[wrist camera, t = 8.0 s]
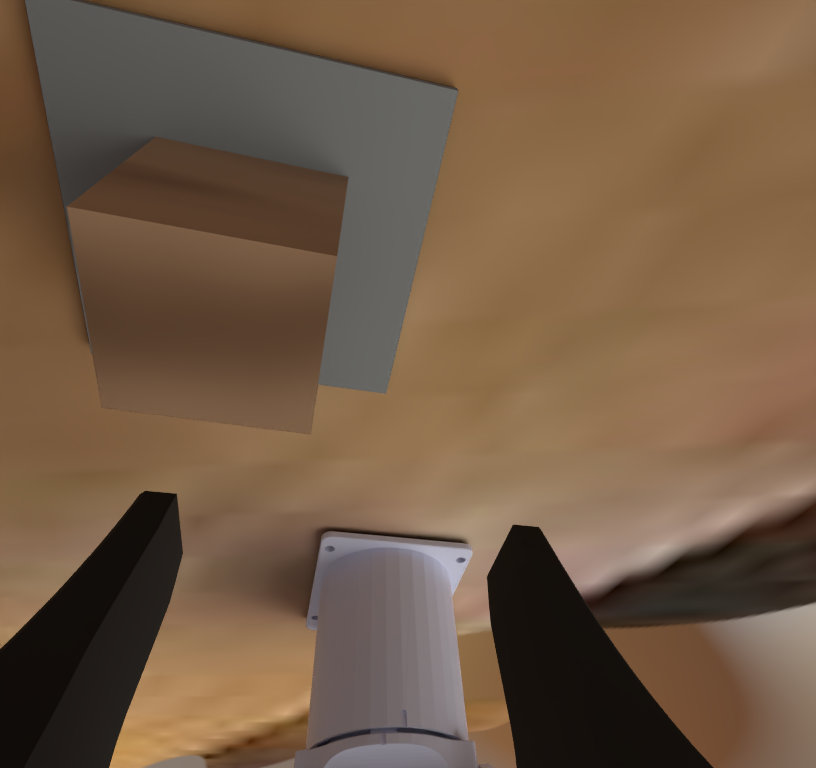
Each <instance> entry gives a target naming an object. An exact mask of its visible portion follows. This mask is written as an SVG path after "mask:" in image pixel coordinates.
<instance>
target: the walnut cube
mask: <svg viewBox="0 0 816 768" xmlns="http://www.w3.org/2000/svg"><path fill="white" fill-rule="evenodd" d="M348 178H349V177H346V176H341V175H336V174H331V173H327V172H322V171H317V170H312V169H308V168H303V167H298V166H293V165H289V164H284V163H279V162H274V161H269V160H265V159H260V158H255V157H250V156H246V155H241V154H236V153H231V152H227V151H222V150H217V149H212V148H208V147H203V146H198V145H193V144H188V143H184V142H179V141H174V140H169V139H165V138H160V137H155V138H154V139H152V140H151V141H150V142H149V143H147V144H146V145H145V146H143V147H142V148H141V149H140V150H138V151H137V152H136V153H134V154H133V155H132V156H131V157H129V158H128V159H127V160H126V161H124V162H123V163H122V164H120V165H119V166H118V167H117V168H115V169H114V170H113V171H111V172H110V173H109V174H108V175H106V176H105V177H104V178H103V179H101V180H100V181H99V182H97V183H96V184H95V185H94V186H92V187H91V188H90V189H89V190H87V191H86V192H85V193H83V194H82V195H81V196H80V197H78V198H77V199H76V200H74V201H73V202H72V203H71V204H69V205H68V206H67V211H68V216H69V222H70V228H71V234H72V239H73V245H74V251H75V257H76V262H77V268H78V274H79V280H80V285H81V291H82V297H83V302H84V308H85V314H86V320H87V325H88V331H89V337H90V343H91V348H92V354H93V360H94V366H95V371H96V377H97V383H98V388H99V394H100V400H101V406H102V408H107V409H115V410H122V411H130V412H138V413H146V414H154V415H162V416H170V417H177V418H185V419H193V420H201V421H209V422H217V423H224V424H232V425H240V426H248V427H256V428H264V429H272V430H279V431H287V432H295V433H303V434H311V429H312V422H313V415H314V408H315V402H316V395H317V388H318V382H319V375H320V368H321V361H322V355H323V348H324V341H325V334H326V328H327V321H328V314H329V308H330V301H331V294H332V287H333V281H334V274H335V267H336V261H337V254H338V247H339V240H340V233H341V226H342V219H343V212H344V205H345V198H346V191H347V185H348Z"/></svg>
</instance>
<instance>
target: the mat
mask: <svg viewBox="0 0 816 768" xmlns="http://www.w3.org/2000/svg"><path fill="white" fill-rule="evenodd" d="M25 4H26V9H27V14H28V20H29V25H30V30H31V36H32V41H33V46H34V51H35V57H36V62H37V67H38V73H39V78H40V83H41V89H42V94H43V99H44V104H45V110H46V115H47V120H48V126H49V131H50V136H51V142H52V147H53V152H54V158H55V163H56V168H57V173H58V179H59V184H60V189H61V195H62V200H63V205H64V211H65V216H66V221H67V227H68V232H69V237H70V242H71V248H72V253H73V258H74V264H75V269H76V274H77V280H78V285H79V290H80V295H81V301H82V306H83V311H84V317H85V322H86V327H87V333H88V338H89V343H90V337H89V331H88V325H87V320H86V314H85V308H84V302H83V297H82V291H81V285H80V280H79V274H78V268H77V262H76V257H75V251H74V245H73V239H72V234H71V228H70V222H69V216H68V211H67V206H68V205H69V204H71V203H72V202H73V201H74V200H76V199H77V198H78V197H80V196H81V195H82V194H83V193H85V192H86V191H87V190H89V189H90V188H91V187H92V186H94V185H95V184H96V183H97V182H99V181H100V180H101V179H103V178H104V177H105V176H106V175H108V174H109V173H110V172H111V171H113V170H114V169H115V168H117V167H118V166H119V165H120V164H122V163H123V162H124V161H126V160H127V159H128V158H129V157H131V156H132V155H133V154H134V153H136V152H137V151H138V150H140V149H141V148H142V147H143V146H145V145H146V144H147V143H149V142H150V141H151V140H152V139H154V138H155V137H160V138H165V139H169V140H174V141H179V142H184V143H188V144H193V145H198V146H203V147H208V148H212V149H217V150H222V151H227V152H231V153H236V154H241V155H246V156H250V157H255V158H260V159H265V160H269V161H274V162H279V163H284V164H289V165H293V166H298V167H303V168H308V169H312V170H317V171H322V172H327V173H331V174H336V175H341V176H346V177H349V178H348V185H347V191H346V198H345V205H344V212H343V219H342V226H341V233H340V240H339V247H338V254H337V261H336V267H335V274H334V281H333V287H332V294H331V301H330V308H329V314H328V321H327V328H326V334H325V341H324V348H323V355H322V361H321V368H320V375H319V382H318V384H319V385H326V386H334V387H341V388H348V389H356V390H363V391H371V392H378V393H385V394H386V391H387V387H388V383H389V379H390V375H391V370H392V366H393V362H394V358H395V354H396V350H397V345H398V341H399V337H400V333H401V329H402V324H403V320H404V316H405V312H406V308H407V303H408V299H409V295H410V291H411V287H412V282H413V278H414V274H415V270H416V266H417V262H418V257H419V253H420V249H421V245H422V241H423V236H424V232H425V228H426V224H427V220H428V215H429V211H430V207H431V203H432V199H433V194H434V190H435V186H436V182H437V178H438V174H439V169H440V165H441V161H442V157H443V153H444V148H445V144H446V140H447V136H448V132H449V127H450V123H451V119H452V115H453V111H454V106H455V102H456V98H457V94H458V90H457V88H454V87H450V86H446V85H441V84H437V83H433V82H429V81H424V80H420V79H416V78H412V77H407V76H403V75H399V74H394V73H390V72H386V71H382V70H377V69H373V68H369V67H365V66H360V65H356V64H352V63H348V62H343V61H339V60H335V59H330V58H326V57H322V56H318V55H313V54H309V53H305V52H301V51H296V50H292V49H288V48H284V47H279V46H275V45H271V44H266V43H262V42H258V41H254V40H249V39H245V38H241V37H237V36H232V35H228V34H224V33H220V32H215V31H211V30H207V29H202V28H198V27H194V26H190V25H185V24H181V23H177V22H173V21H168V20H164V19H160V18H156V17H151V16H147V15H143V14H138V13H134V12H130V11H126V10H121V9H117V8H113V7H109V6H104V5H100V4H96V3H92V2H87V1H83V0H25ZM90 349H91V354H92V348H91V343H90Z"/></svg>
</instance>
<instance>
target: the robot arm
mask: <svg viewBox="0 0 816 768" xmlns="http://www.w3.org/2000/svg"><path fill="white" fill-rule="evenodd" d="M472 553H473V552H472V547H471V546H470V545H469V544H465V543H455V542H444V541H433V540H423V539H412V538H401V537H390V536H379V535H368V534H357V533H346V532H336V531H328V532H325V533H324V534H323V535H322V537H321V543H320V548H319V554H318V559H317V565H316V570H315V576H314V581H313V587H312V592H311V598H310V603H309V609H308V614H307V620H306V627H307V628H308V629H310V630H317V635H316V646H315V656H314V667H313V677H312V688H311V699H310V709H309V720H308V731H307V741H306V750H298V751H296V753H295V763H294V768H494V766H492V765H491V764H479V766H478V764H477V756H476V748H475V742H474V741H472V740H468V731H467V723H466V714H465V705H464V697H463V688H462V679H461V670H460V662H459V653H458V644H457V635H456V626H455V617H454V609H453V600H452V596H453V594H454V592H455V590H456V587H457V585H458V583H459V581H460V579H461V577H462V575H463V573H464V571H465V569H466V567H467V565H468V563H469V561H470V558H471V556H472ZM182 554H183V550H182V541H181V531H180V521H179V511H178V502H177V494H173V493H162V492H151V491H144V492H143V493H141V494H140V495H139V496H138V497H137V499H136V500H135V501H134V503H133V504H132V505H131V507H130V508H129V509H128V510H127V512H126V513H125V514H124V515H123V517H122V518H121V519H120V520H119V522H118V523H117V524H116V525H115V527H114V528H113V529H112V530H111V531H110V533H109V534H108V535H107V536H106V537H105V539H104V540H103V541H102V542H101V543H100V544H99V546H98V547H97V548H96V549H95V550H94V552H93V553H92V554H91V555H90V556H89V557H88V558H87V559H86V560H85V562H84V563H83V564H82V565H81V566H80V567H79V568H78V569H77V571H76V572H75V573H74V574H73V575H72V576H71V577H70V578H69V579H68V581H67V582H66V583H65V584H64V585H63V586H62V587H61V588H60V589H59V590H58V591H57V592H56V594H55V595H54V596H53V597H52V598H51V599H50V600H49V601H48V602H47V603H46V604H45V605H44V606H43V607H42V608H41V609H40V610H39V611H38V612H37V613H36V614H35V615H34V616H33V617H32V618H31V619H30V620H29V621H28V622H27V623H26V624H25V625H24V626H23V627H22V628H21V629H20V630H19V631H18V632H17V633H16V634H15V635H14V636H13V637H12V638H11V639H10V640H9V641H8V642H7V643H6V644H5V645H4V646H3V647H2V648H1V649H0V768H109V766H110V762H111V759H112V756H113V752H114V749H115V745H116V742H117V739H118V736H119V734H120V731H121V728H122V725H123V722H124V719H125V716H126V714H127V711H128V709H129V706H130V703H131V701H132V698H133V696H134V693H135V691H136V688H137V685H138V683H139V680H140V678H141V675H142V673H143V670H144V668H145V665H146V662H147V660H148V657H149V655H150V652H151V650H152V647H153V644H154V642H155V639H156V637H157V634H158V631H159V629H160V626H161V624H162V621H163V618H164V616H165V613H166V611H167V608H168V605H169V603H170V599H171V595H172V592H173V588H174V585H175V581H176V577H177V573H178V570H179V566H180V562H181V558H182ZM487 582H488V597H489V609H490V620H491V627H492V632H493V637H494V643H495V648H496V653H497V658H498V663H499V669H500V673H501V679H502V684H503V688H504V693H505V699H506V704H507V709H508V714H509V719H510V724H511V729H512V736H513V741H514V748H515V756H516V765H517V768H713V767H712V766H711V765H710V764H709V762H708V761H707V760H706V759H705V758H704V757H703V756H702V755H701V754H700V753H699V752H698V751H697V749H696V748H695V747H694V746H693V745H692V744H691V743H690V742H689V740H688V739H687V738H686V737H685V736H684V735H683V733H682V732H681V731H680V730H679V729H678V728H677V726H676V725H675V724H674V723H673V722H672V720H671V719H670V718H669V717H668V715H667V714H666V713H665V712H664V711H663V709H662V708H661V707H660V706H659V704H658V703H657V702H656V701H655V700H654V698H653V697H652V696H651V694H650V693H649V692H648V690H647V689H646V688H645V687H644V685H643V684H642V683H641V681H640V680H639V679H638V677H637V676H636V675H635V674H634V672H633V671H632V669H631V668H630V667H629V665H628V664H627V662H626V661H625V660H624V658H623V657H622V656H621V654H620V653H619V651H618V650H617V649H616V647H615V646H614V644H613V643H612V641H611V640H610V639H609V637H608V636H607V634H606V633H605V631H604V630H603V628H602V627H601V625H600V624H599V622H598V621H597V619H596V618H595V616H594V615H593V613H592V612H591V610H590V609H589V607H588V605H587V604H586V602H585V601H584V599H583V598H582V596H581V595H580V593H579V591H578V590H577V588H576V587H575V585H574V583H573V582H572V580H571V579H570V577H569V575H568V574H567V572H566V571H565V569H564V567H563V566H562V564H561V562H560V561H559V559H558V557H557V556H556V554H555V552H554V551H553V549H552V547H551V546H550V544H549V542H548V541H547V539H546V537H545V536H544V534H543V532H542V531H541V529H540V528H539V527H532V526H521V525H513V526H512V528H511V530H510V532H509V534H508V536H507V538H506V540H505V542H504V544H503V546H502V548H501V550H500V552H499V554H498V556H497V558H496V560H495V562H494V564H493V566H492V568H491V570H490V572H489V574H488V576H487Z"/></svg>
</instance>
